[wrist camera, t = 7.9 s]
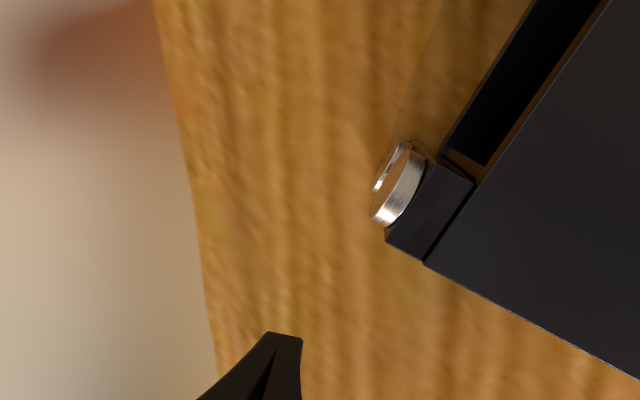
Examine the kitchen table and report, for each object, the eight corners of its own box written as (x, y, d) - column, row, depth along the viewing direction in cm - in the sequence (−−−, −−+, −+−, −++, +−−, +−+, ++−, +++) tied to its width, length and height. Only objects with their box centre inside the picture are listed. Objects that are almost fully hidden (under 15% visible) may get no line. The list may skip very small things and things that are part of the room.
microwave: (367, 184, 20) (365, 234, 12) (517, -72, 16) (654, -237, 8) (550, 282, 20) (659, 392, 12) (751, 54, 16) (1110, 10, 8)
